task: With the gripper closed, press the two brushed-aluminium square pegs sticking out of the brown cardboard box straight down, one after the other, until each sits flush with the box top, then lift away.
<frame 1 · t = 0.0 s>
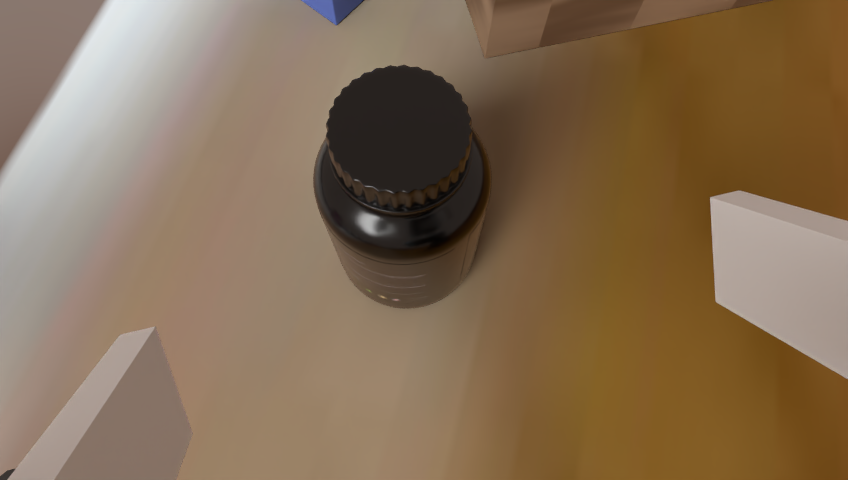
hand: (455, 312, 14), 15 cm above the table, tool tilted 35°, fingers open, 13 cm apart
supplement bottle: (406, 248, 31), on the table
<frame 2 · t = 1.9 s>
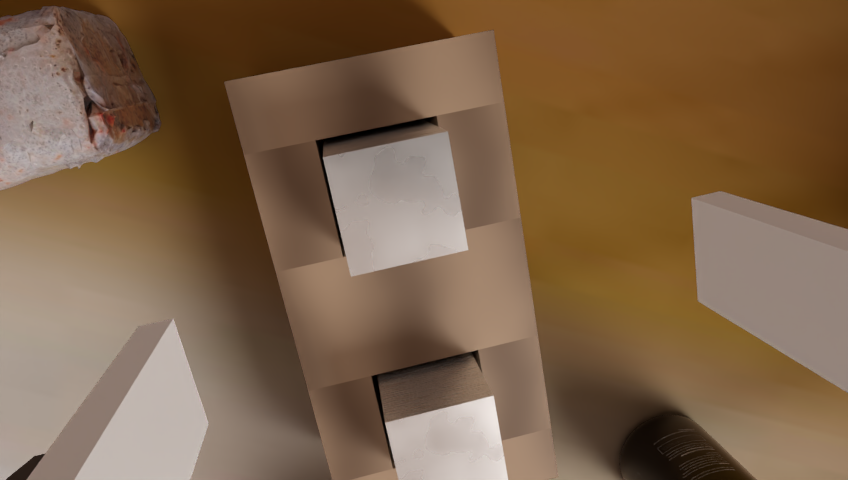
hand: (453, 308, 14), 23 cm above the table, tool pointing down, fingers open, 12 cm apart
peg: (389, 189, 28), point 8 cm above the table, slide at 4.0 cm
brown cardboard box: (395, 258, 38), on the table
food item: (21, 104, 33), on the table
supplement bottle: (659, 451, 45), on the table
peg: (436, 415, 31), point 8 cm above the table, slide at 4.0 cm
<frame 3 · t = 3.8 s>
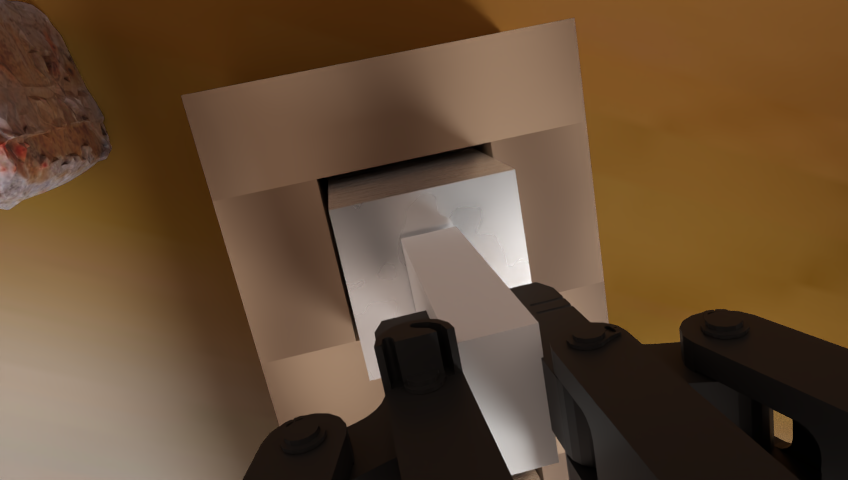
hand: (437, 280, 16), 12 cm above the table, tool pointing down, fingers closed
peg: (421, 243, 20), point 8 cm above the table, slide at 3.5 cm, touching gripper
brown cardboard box: (420, 317, 29), on the table
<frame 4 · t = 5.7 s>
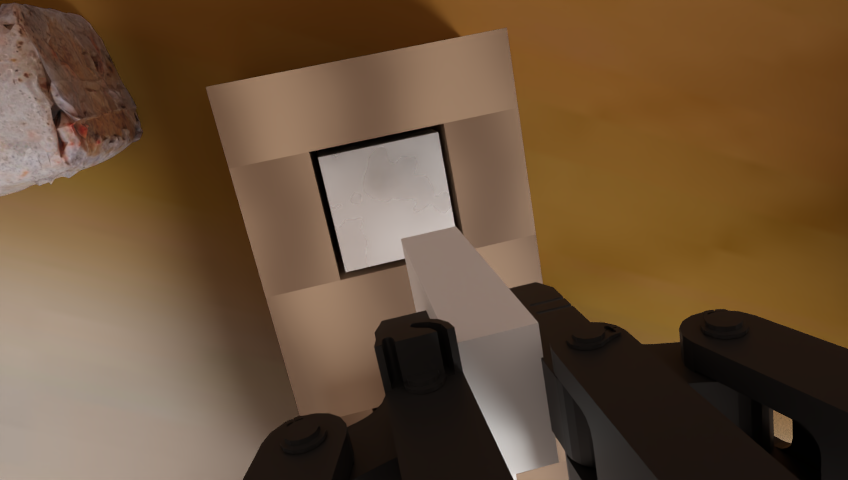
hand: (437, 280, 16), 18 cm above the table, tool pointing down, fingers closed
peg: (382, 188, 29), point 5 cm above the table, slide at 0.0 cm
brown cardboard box: (396, 274, 35), on the table
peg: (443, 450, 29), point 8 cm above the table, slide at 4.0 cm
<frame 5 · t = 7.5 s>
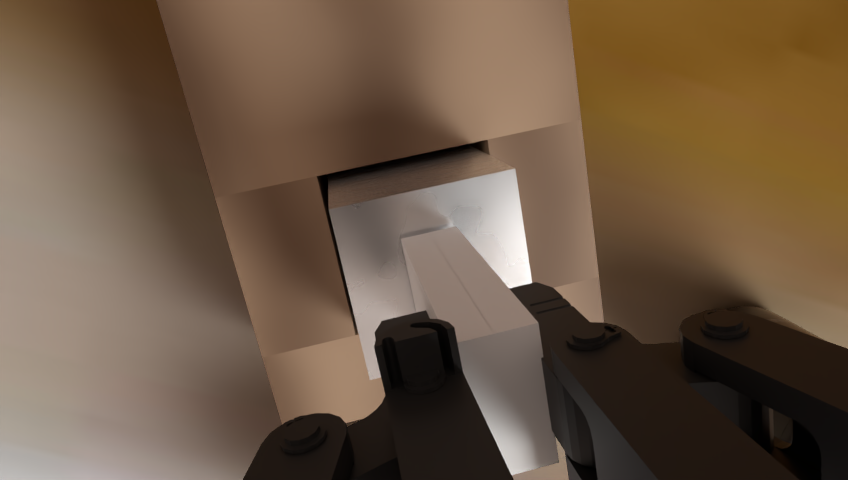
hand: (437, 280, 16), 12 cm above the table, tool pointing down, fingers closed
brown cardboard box: (366, 59, 26), on the table
supplement bottle: (727, 359, 33), on the table
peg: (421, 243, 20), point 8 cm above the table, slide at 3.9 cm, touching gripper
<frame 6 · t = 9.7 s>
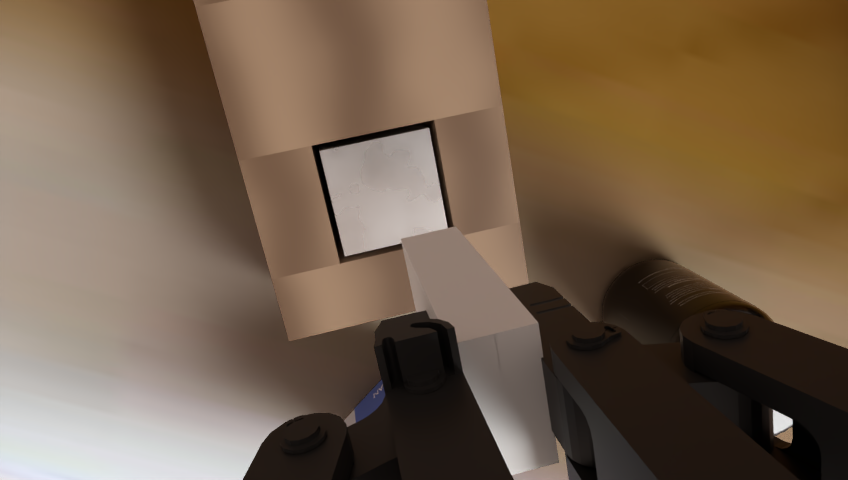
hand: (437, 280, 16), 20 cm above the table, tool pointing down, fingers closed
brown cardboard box: (349, 61, 34), on the table
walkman: (390, 396, 40), on the table
supplement bottle: (645, 304, 41), on the table
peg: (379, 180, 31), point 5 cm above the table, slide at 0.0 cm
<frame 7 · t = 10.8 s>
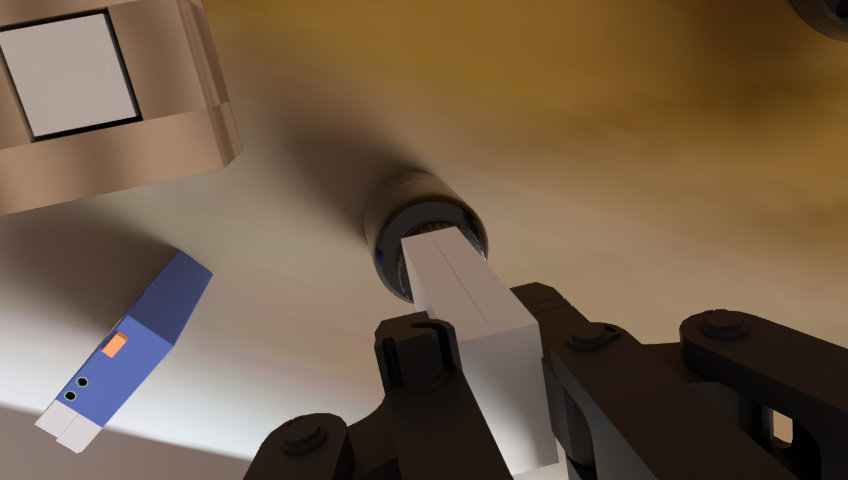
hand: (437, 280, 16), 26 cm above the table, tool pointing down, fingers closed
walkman: (162, 302, 42), on the table
supplement bottle: (411, 217, 43), on the table
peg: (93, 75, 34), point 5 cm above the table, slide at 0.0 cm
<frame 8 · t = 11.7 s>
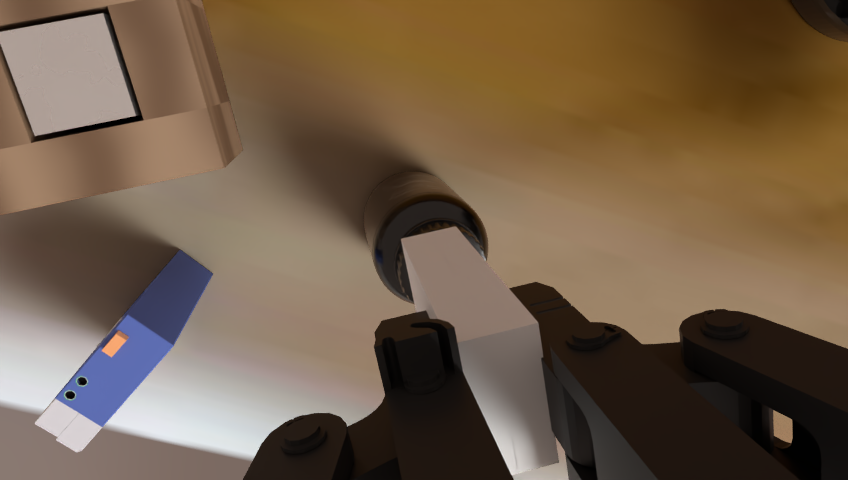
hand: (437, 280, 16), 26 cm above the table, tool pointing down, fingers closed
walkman: (162, 301, 42), on the table
supplement bottle: (411, 217, 43), on the table
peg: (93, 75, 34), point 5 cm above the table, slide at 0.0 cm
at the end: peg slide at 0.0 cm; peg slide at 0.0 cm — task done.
